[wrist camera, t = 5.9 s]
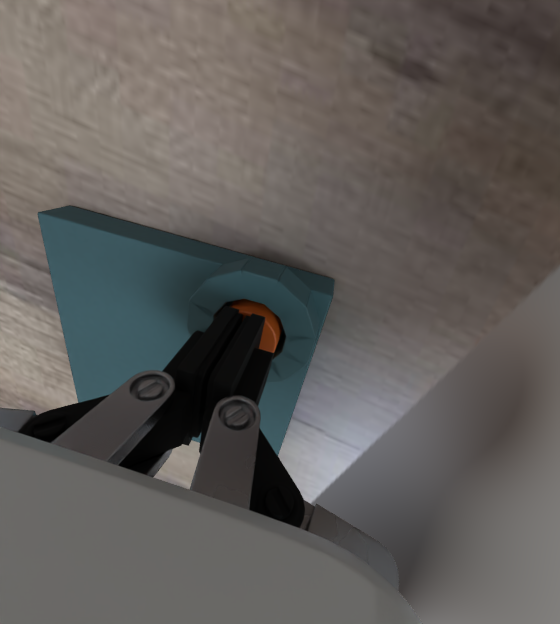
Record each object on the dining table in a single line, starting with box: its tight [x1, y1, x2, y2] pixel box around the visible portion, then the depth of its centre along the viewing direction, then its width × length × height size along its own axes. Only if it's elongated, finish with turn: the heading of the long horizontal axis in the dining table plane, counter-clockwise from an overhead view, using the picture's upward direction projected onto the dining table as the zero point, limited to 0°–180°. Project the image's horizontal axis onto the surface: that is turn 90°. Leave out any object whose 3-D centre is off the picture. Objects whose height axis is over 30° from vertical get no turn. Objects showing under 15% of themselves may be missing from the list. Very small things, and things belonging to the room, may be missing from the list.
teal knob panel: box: [38, 206, 335, 456], centre depth 16 cm, size 14×14×4 cm
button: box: [230, 299, 283, 353], centre depth 13 cm, size 3×3×2 cm
